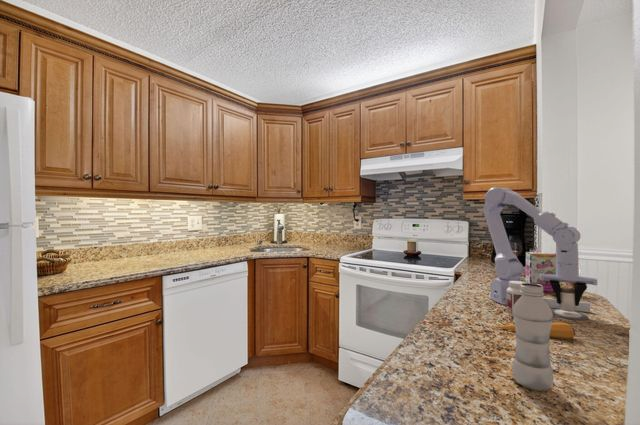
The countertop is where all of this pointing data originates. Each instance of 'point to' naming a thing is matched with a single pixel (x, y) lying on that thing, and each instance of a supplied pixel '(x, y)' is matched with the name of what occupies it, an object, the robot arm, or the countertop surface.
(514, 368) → the plastic bottle
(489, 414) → the countertop surface
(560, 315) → the ring mat
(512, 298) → the pill bottle
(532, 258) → the candy bar box
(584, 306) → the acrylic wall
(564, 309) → the spice jar
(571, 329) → the carrot
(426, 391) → the countertop surface
